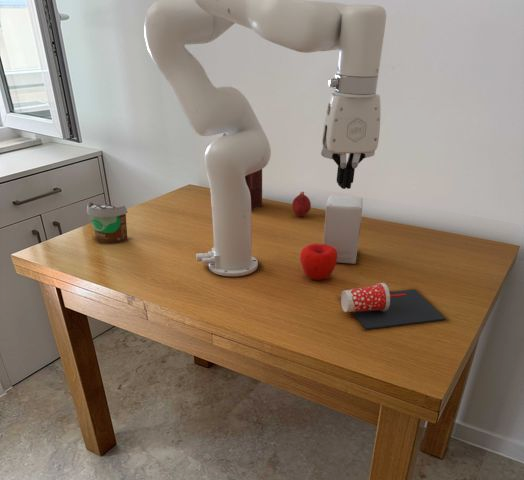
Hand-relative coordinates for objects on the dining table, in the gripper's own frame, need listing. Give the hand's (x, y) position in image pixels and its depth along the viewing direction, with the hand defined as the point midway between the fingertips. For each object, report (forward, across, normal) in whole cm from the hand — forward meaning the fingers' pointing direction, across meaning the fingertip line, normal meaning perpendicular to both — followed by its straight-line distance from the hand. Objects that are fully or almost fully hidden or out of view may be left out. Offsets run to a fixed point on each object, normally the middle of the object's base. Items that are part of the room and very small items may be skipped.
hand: (344, 186), depth 104 cm
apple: (+26, 0, +10) cm, 28 cm away
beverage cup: (+22, -1, -9) cm, 23 cm away
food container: (+28, -52, +46) cm, 75 cm away
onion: (+26, +8, +54) cm, 61 cm away
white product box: (+26, +10, +21) cm, 35 cm away
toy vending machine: (+27, -7, +68) cm, 74 cm away
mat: (+25, +11, -9) cm, 28 cm away
